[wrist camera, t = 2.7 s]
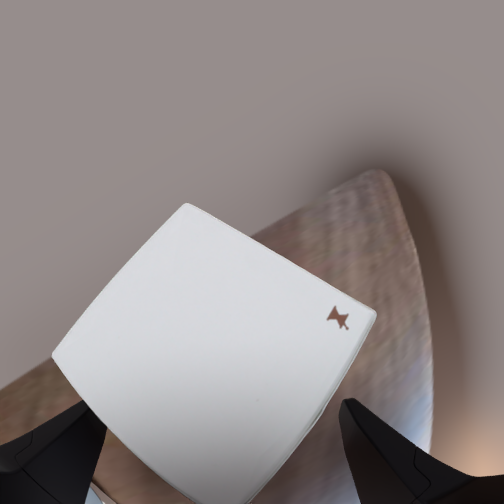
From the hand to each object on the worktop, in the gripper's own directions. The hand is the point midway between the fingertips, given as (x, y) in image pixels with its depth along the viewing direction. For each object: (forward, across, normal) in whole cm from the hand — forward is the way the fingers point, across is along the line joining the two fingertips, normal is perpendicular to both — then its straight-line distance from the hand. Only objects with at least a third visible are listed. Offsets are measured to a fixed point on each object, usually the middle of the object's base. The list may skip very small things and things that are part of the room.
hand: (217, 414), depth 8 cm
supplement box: (+8, 0, +6) cm, 10 cm away
